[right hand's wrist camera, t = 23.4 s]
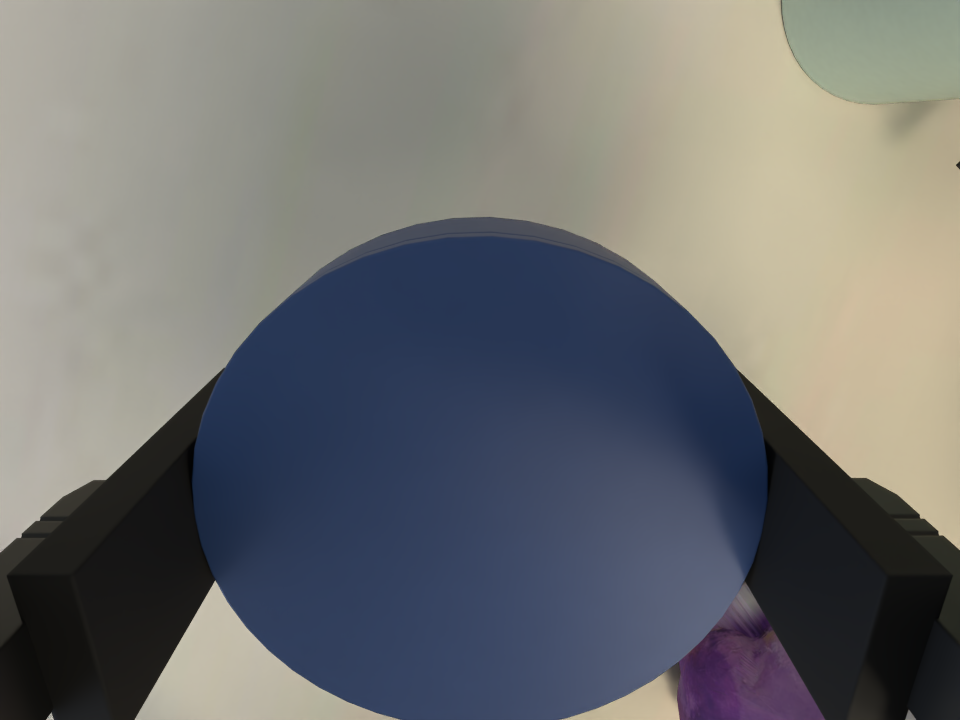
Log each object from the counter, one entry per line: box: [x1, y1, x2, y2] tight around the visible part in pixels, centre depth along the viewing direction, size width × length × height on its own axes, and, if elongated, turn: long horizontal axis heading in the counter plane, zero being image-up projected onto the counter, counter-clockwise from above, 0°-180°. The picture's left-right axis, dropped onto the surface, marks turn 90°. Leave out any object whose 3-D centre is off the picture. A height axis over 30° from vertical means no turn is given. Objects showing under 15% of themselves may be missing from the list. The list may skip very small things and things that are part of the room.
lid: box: [192, 217, 768, 720], centre depth 11 cm, size 9×9×2 cm
